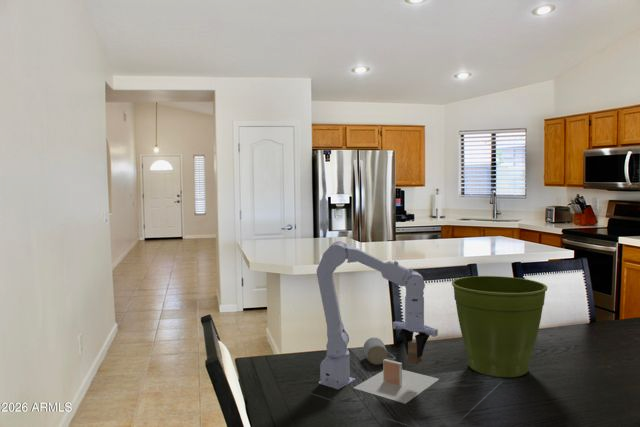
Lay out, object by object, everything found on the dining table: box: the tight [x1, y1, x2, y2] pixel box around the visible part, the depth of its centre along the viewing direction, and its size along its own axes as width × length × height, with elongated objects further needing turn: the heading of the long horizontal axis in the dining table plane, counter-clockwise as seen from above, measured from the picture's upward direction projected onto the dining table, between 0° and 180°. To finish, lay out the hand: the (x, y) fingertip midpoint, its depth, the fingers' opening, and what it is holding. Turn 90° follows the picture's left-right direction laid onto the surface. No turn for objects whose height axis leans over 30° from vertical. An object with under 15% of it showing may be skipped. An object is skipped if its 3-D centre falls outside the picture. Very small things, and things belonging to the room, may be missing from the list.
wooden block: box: [407, 338, 422, 365], centre depth 154 cm, size 3×3×6 cm
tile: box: [382, 359, 403, 386], centre depth 154 cm, size 1×6×7 cm, turn 51°
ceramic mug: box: [363, 337, 396, 366], centre depth 174 cm, size 11×8×8 cm
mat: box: [353, 369, 440, 405], centre depth 154 cm, size 22×18×1 cm
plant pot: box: [451, 275, 548, 378], centre depth 166 cm, size 30×30×29 cm
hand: (414, 355), depth 153 cm, fingers closed on wooden block, 3 cm apart
